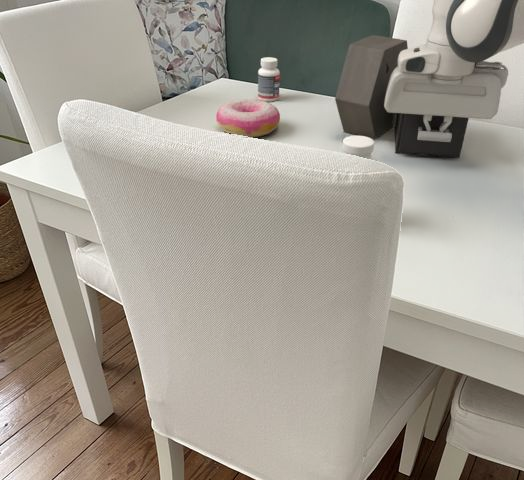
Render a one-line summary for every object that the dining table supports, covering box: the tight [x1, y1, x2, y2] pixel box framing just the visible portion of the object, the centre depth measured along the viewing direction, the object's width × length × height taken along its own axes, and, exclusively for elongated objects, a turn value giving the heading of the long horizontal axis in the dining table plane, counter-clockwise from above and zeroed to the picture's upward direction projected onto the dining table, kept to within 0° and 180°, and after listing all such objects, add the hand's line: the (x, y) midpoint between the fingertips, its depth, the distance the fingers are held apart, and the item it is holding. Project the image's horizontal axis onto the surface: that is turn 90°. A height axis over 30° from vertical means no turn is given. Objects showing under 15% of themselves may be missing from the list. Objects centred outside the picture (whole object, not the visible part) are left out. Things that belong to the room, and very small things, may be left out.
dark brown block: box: [334, 34, 409, 140], centre depth 119 cm, size 17×8×21 cm
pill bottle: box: [257, 56, 281, 102], centre depth 138 cm, size 5×5×9 cm
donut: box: [215, 98, 281, 138], centre depth 123 cm, size 14×13×5 cm
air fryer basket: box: [399, 114, 467, 156], centre depth 113 cm, size 18×11×8 cm, turn 170°
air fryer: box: [394, 113, 470, 159], centre depth 116 cm, size 15×13×10 cm
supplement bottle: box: [341, 135, 378, 162], centre depth 89 cm, size 7×7×13 cm
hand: (433, 138), depth 108 cm, fingers closed
